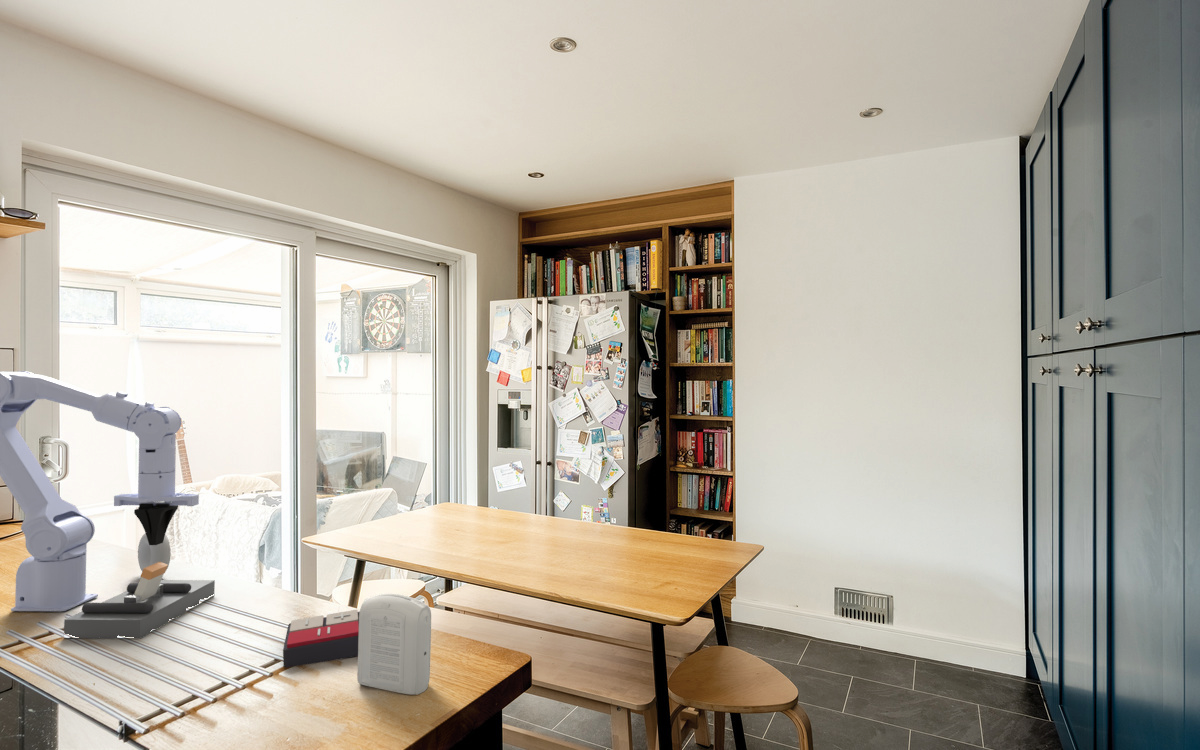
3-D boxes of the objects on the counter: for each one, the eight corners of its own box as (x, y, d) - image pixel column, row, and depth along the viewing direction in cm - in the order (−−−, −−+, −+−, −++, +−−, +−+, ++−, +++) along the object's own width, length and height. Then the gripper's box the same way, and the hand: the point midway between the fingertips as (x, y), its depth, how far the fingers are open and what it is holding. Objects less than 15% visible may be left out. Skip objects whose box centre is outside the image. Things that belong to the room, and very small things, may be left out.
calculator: (288, 618, 101) (386, 602, 107) (289, 644, 101) (387, 627, 107) (282, 645, 91) (390, 625, 97) (283, 674, 91) (391, 653, 97)
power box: (63, 638, 100) (64, 607, 100) (150, 595, 120) (151, 569, 120) (140, 638, 100) (140, 607, 100) (214, 595, 120) (214, 569, 120)
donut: (173, 579, 129) (174, 531, 130) (154, 584, 127) (155, 534, 127) (153, 571, 135) (154, 524, 135) (134, 574, 132) (135, 527, 132)
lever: (130, 601, 106) (143, 568, 106) (146, 593, 110) (159, 561, 110) (138, 605, 106) (152, 571, 106) (155, 597, 110) (168, 564, 110)
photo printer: (435, 684, 87) (436, 594, 87) (417, 699, 83) (418, 605, 83) (372, 672, 90) (373, 586, 90) (352, 686, 86) (353, 596, 86)
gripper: (101, 474, 114) (100, 549, 114) (182, 475, 114) (181, 549, 114) (129, 469, 121) (128, 539, 121) (205, 469, 122) (204, 539, 121)
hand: (156, 543), depth 118 cm, fingers closed
